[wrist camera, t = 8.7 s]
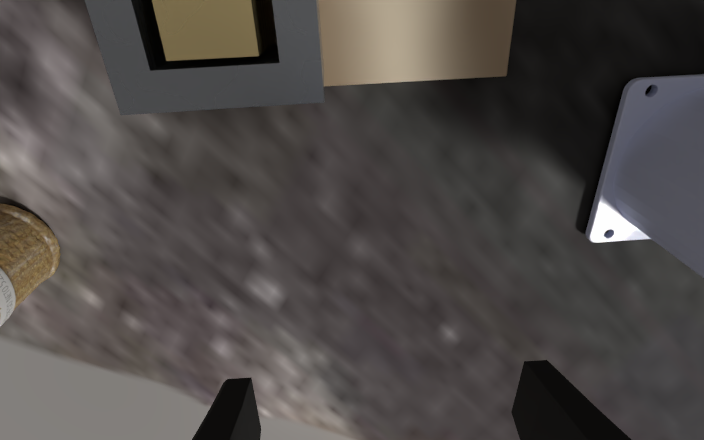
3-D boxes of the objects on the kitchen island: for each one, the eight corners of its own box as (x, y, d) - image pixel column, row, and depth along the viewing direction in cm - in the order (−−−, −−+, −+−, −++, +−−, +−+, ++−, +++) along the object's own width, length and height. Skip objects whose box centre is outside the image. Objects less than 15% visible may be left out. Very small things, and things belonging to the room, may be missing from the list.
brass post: (271, -37, 15) (243, -53, 10) (279, 35, 16) (259, 56, 11) (204, -34, 15) (139, -49, 10) (217, 38, 16) (166, 61, 11)
